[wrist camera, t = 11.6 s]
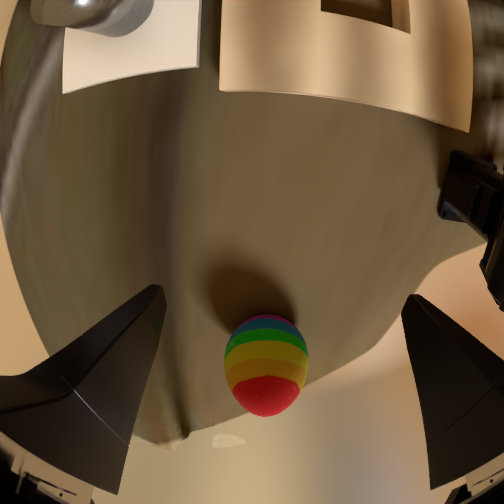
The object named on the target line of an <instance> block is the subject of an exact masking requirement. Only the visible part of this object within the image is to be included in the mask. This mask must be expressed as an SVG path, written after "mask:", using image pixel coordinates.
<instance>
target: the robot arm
mask: <svg viewBox="0 0 504 504" xmlns="http://www.w3.org/2000/svg"><path fill="white" fill-rule="evenodd" d="M456 154H457V157H456ZM503 171H504V166H503ZM443 212H444V214H443ZM442 214H443V215H442ZM438 215H439V217H440V218H441V219H445V220H452V221H458V222H464V223H467V224H468V225H469V226H470V227H471V228H472V229H474V230H475V231H476V232H477V233H478V234H479V235H480V236H481V237H482V238H483V239H485V240H486V241H487V242H488V243H487V247H486V250H485V253H484V256H483V259H481V261H480V264H479V266H480V268H481V270H482V272H483V275H484V277H485V279H486V282H487V284H488V286H487V287H488V290H489V292H490V293H491V294H492V296H493V298H494V300H495V302H496V304H498V305H499V306H500V307H499V309H500V310H501V311H503V312H504V174H503V175H502V174H500V173H499V172H497V166H496V165H495V164H493V163H491V162H489V161H486V160H484V159H481V158H478V157H476V156H473V155H470V154H468V153H465V152H462V151H459V150H453V151H452V154H451V160H450V165H449V170H448V175H447V179H446V184H445V188H444V192H443V196H442V200H441V204H440V208H439V211H438ZM166 307H167V304H166V299H165V294H164V289H163V287H162V286H161V285H155V284H151V285H149V286H148V287H146V288H145V289H144V290H142V291H141V292H139V293H138V294H137V295H135V296H134V297H132V298H131V299H130V300H128V301H127V302H125V303H124V304H123V305H121V306H120V307H119V308H117V309H116V310H114V311H113V312H112V313H110V314H109V315H108V316H106V317H105V318H104V319H102V320H101V321H99V322H98V323H97V324H95V325H94V326H93V327H91V328H90V329H89V330H87V331H86V332H85V333H83V334H82V336H79V337H78V338H77V339H75V340H74V341H73V342H71V343H70V344H69V345H67V346H66V347H64V348H63V349H62V350H60V351H59V352H57V353H56V354H54V355H53V356H51V357H49V358H48V359H46V360H45V361H43V362H42V363H40V364H39V365H37V366H35V367H34V368H32V369H31V370H29V371H27V372H25V373H23V374H20V375H15V376H0V504H95V503H94V502H93V500H92V498H91V496H92V492H93V488H94V486H95V487H97V488H100V489H102V490H105V491H107V492H110V493H112V494H115V495H117V494H118V491H119V486H120V482H121V477H122V473H123V468H124V464H125V460H126V456H127V452H128V448H129V447H128V445H129V443H130V439H131V435H132V432H133V428H134V424H135V421H136V417H137V413H138V410H139V406H140V403H141V400H142V396H143V393H144V389H145V386H146V383H147V380H148V376H149V373H150V370H151V367H152V364H153V361H154V357H155V354H156V351H157V348H158V345H159V340H160V336H161V331H162V326H163V322H164V317H165V313H166ZM401 317H402V322H403V328H404V333H405V339H406V344H407V350H408V354H409V357H410V362H411V365H412V370H413V374H414V378H415V382H416V387H417V392H418V396H419V401H420V407H421V412H422V417H423V424H424V430H425V437H426V443H427V454H428V464H429V477H430V489H431V490H433V489H436V488H438V487H441V486H443V485H445V484H447V483H450V482H452V481H454V480H456V479H458V478H460V477H462V476H464V475H465V478H466V483H465V484H463V485H461V486H459V487H457V488H455V489H453V490H452V492H451V493H450V495H449V497H448V499H447V500H446V502H445V504H504V360H502V359H501V358H500V357H498V356H497V355H496V354H495V353H493V352H492V351H491V350H490V349H489V348H487V347H486V346H485V345H484V344H483V343H481V342H480V341H479V340H478V339H476V338H475V337H474V336H472V335H471V334H470V333H469V332H468V331H467V330H465V329H464V328H463V327H462V326H460V325H459V324H458V323H456V322H455V321H454V320H453V319H451V318H450V317H449V316H447V315H446V314H445V313H443V312H442V311H441V310H440V309H438V308H437V307H436V306H434V305H433V304H432V303H430V302H429V301H428V300H426V299H425V298H423V297H422V296H421V295H419V294H411V295H409V296H408V298H407V300H406V302H405V305H404V307H403V309H402V312H401Z"/></svg>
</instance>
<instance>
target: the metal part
mask: <svg viewBox="0 0 504 504" xmlns="http://www.w3.org/2000/svg"><path fill="white" fill-rule="evenodd" d="M153 5H154V0H32V2H31V7H30V13H31V17H32V19H33V20H34V21H35V22H36V23H39V24H47V25H54V26H61V27H67V28H72V29H77V30H82V31H87V32H91V33H96V34H100V35H104V36H108V37H121V36H125V35H127V34H129V33H131V32H133V31H134V30H136V29H137V28H139V27H140V26H141V25H142V24H143V23H144V22H145V21H146V19H147V18H148V17H149V15H150V13H151V11H152V9H153Z"/></svg>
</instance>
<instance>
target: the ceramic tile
mask: <svg viewBox="0 0 504 504" xmlns="http://www.w3.org/2000/svg"><path fill="white" fill-rule="evenodd" d="M201 7H202V0H154V5H153V9H152V11H151V13H150V15H149V17H148V18H147V19H146V21H145V22H144V23H143V24H142V25H141V26H140V27H139V28H137V29H136V30H134V31H133V32H131V33H129V34H127V35H125V36H121V37H108V36H104V35H100V34H96V33H91V32H87V31H82V30H77V29H72V28H67V27H66V30H65V40H64V53H63V94H64V93H70V92H73V91H76V90H79V89H83V88H86V87H89V86H93V85H97V84H100V83H104V82H108V81H113V80H117V79H121V78H126V77H131V76H136V75H142V74H147V73H154V72H160V71H168V70H176V69H185V68H196V67H199V49H200V25H201Z"/></svg>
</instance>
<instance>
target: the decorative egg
mask: <svg viewBox="0 0 504 504" xmlns="http://www.w3.org/2000/svg"><path fill="white" fill-rule="evenodd" d="M224 367H225V374H226V379H227V382H228V385H229V388H230V390H231V392H232V394H233V395H234V397H235V398H236V400H237V401H238V402H239V403H240V405H242V406H243V407H244V408H245V409H246V410H247V411H249V412H251V413H252V414H255V415H258V416H262V417H268V416H273V415H276V414H278V413H280V412H282V411H283V410H285V409H286V408H288V407H289V406H290V405H291V404H292V403H293V402H294V400H295V399H296V398H297V396H298V395H299V393H300V391H301V390H302V387H303V385H304V383H305V380H306V376H307V371H308V352H307V347H306V343H305V341H304V338H303V337H302V335H301V333H300V332H299V330H298V329H297V328H296V327H295V326H294V325H293V324H292V323H291V322H289V321H288V320H286V319H284V318H283V317H280V316H277V315H271V314H263V315H257V316H254V317H251V318H249V319H248V320H246V321H244V322H243V323H242V324H241V325H240V326H238V328H237V329H236V330H235V331H234V332H233V334H232V336H231V337H230V339H229V342H228V344H227V347H226V352H225V360H224Z"/></svg>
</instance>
